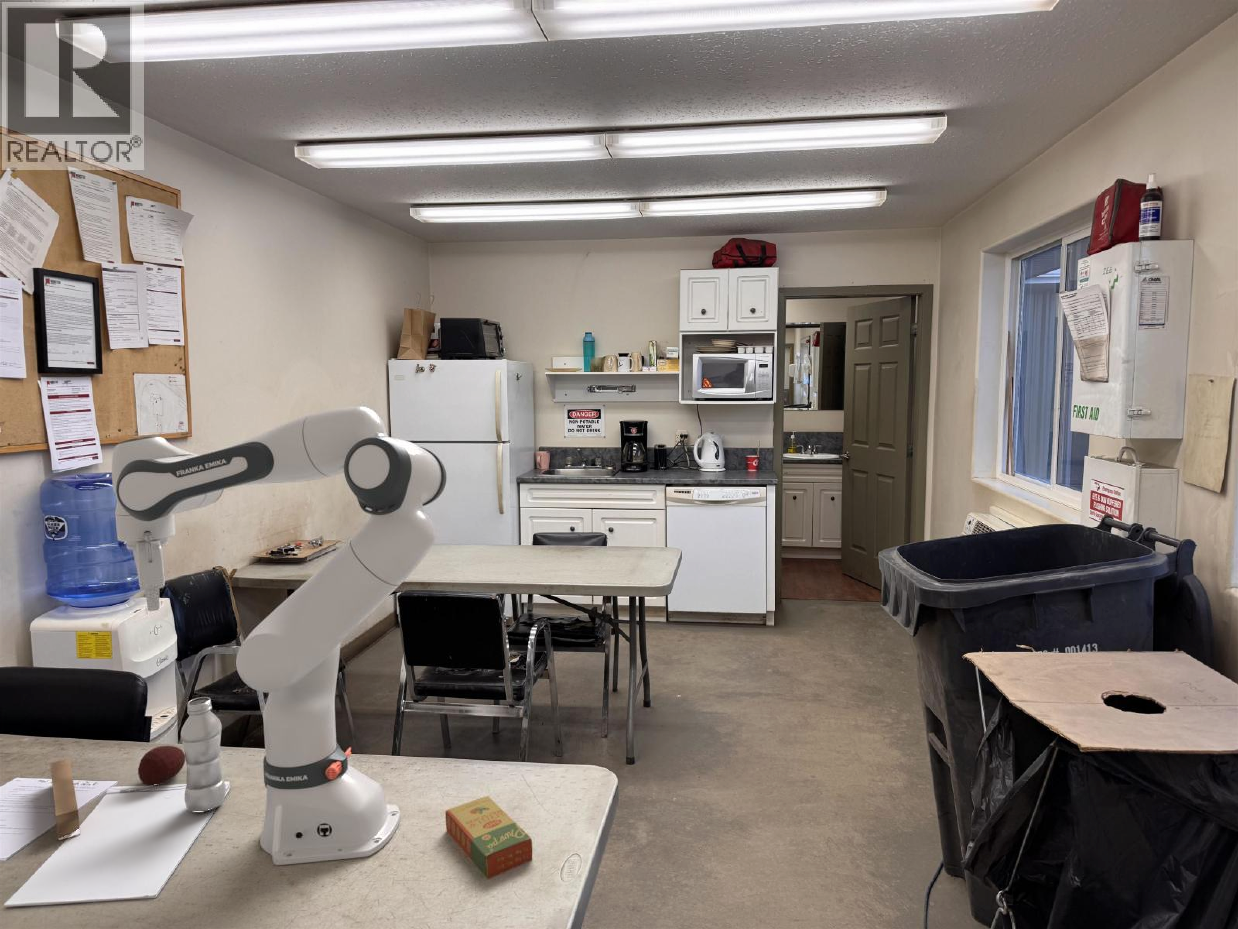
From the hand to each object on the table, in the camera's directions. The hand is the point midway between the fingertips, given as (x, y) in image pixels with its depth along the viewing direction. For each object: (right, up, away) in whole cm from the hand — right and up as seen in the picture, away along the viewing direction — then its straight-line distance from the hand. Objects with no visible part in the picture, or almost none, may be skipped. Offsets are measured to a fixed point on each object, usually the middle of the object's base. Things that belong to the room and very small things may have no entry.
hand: (152, 603), depth 136 cm
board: (-17, -38, +2) cm, 41 cm away
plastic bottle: (+9, -38, +2) cm, 39 cm away
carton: (+62, -38, -11) cm, 74 cm away
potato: (-5, -37, +12) cm, 39 cm away
